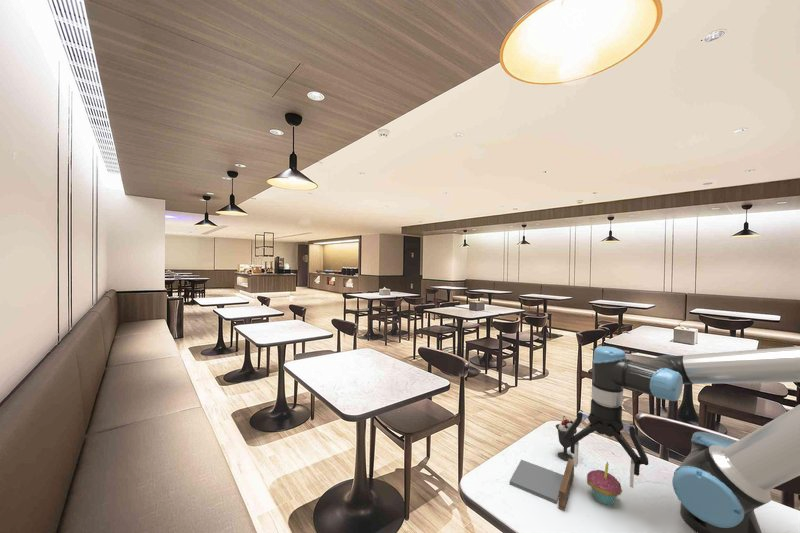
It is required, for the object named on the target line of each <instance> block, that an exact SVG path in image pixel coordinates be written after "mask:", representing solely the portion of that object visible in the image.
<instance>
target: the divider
mask: <svg viewBox="0 0 800 533" xmlns="http://www.w3.org/2000/svg"><path fill="white" fill-rule="evenodd" d="M566 462H567V463H566V465H565V469H564V473H563V474H562V475H563V479H562V482H561V485H560V488H559V497H558V500H557V503H558V504H557V505H558V506H557V509H559V510H561V511H563V512H565V511H566V508H567V503H568V500H569V496H570V492H571V488H572V485H573V484H572V483H573V480H574V476H575V467H574V458H573V459H570V458H569V459H568V461H566Z"/></svg>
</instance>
